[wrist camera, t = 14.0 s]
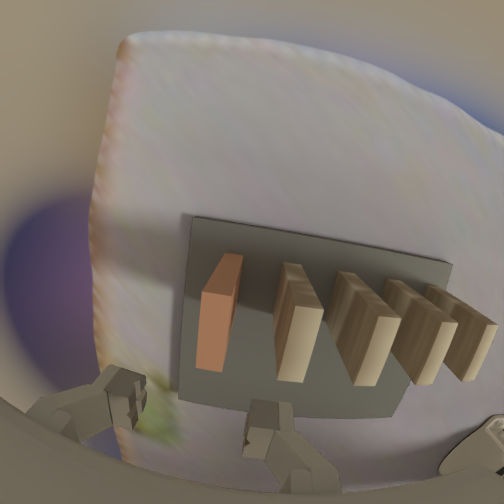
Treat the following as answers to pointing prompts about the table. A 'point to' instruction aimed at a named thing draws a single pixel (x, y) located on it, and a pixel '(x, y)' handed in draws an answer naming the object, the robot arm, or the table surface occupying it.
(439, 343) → the domino
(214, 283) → the end domino
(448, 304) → the domino
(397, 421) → the table surface
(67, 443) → the robot arm
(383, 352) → the domino
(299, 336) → the domino
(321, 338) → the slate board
